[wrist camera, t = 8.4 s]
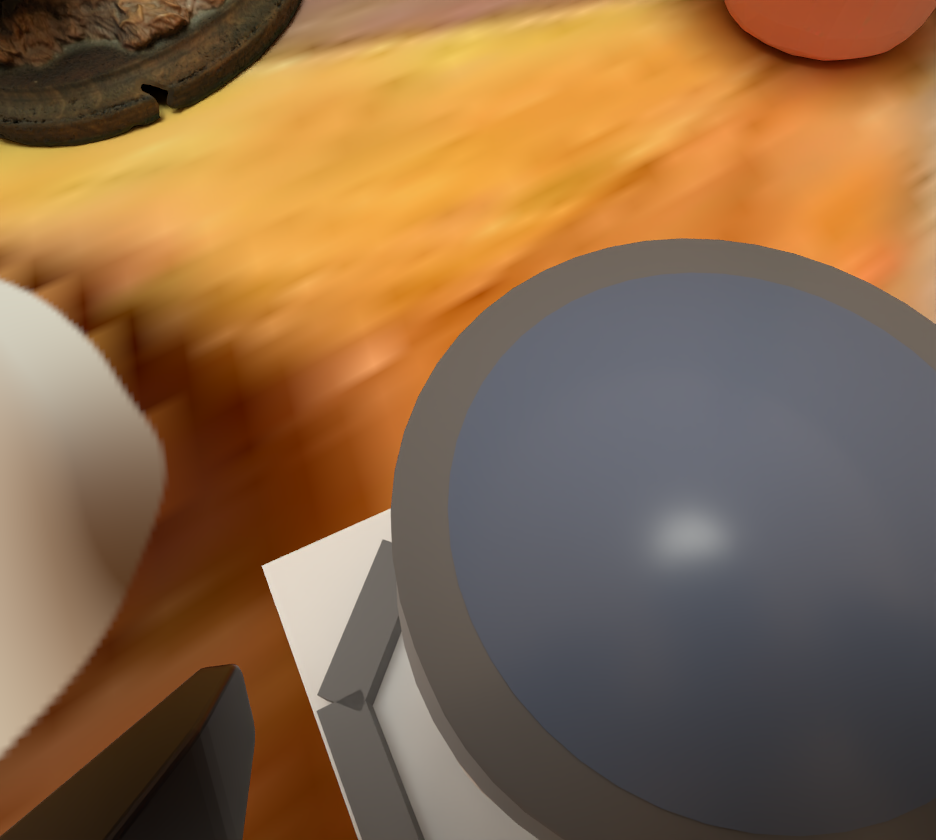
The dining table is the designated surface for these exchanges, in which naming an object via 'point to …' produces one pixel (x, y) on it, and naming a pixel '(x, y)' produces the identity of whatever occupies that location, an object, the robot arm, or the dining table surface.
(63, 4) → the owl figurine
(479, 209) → the dining table surface
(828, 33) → the decorative flower
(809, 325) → the gray tumbler
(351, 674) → the square flange plate
